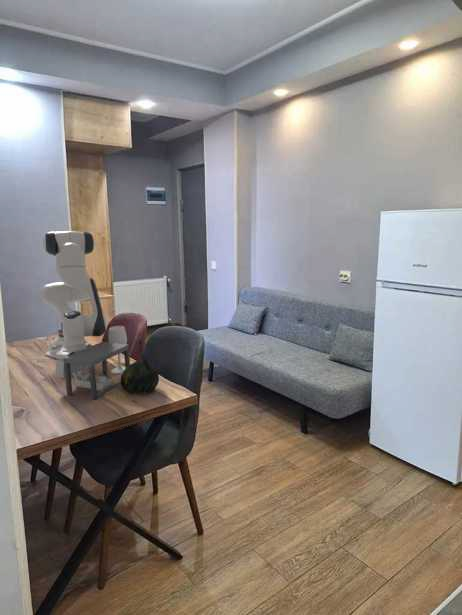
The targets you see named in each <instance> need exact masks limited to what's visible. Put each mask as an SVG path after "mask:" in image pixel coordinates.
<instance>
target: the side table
mask: <svg viewBox="0 0 462 615" xmlns="http://www.w3.org/2000/svg"><path fill="white" fill-rule="evenodd" d="M119 353H120V354H122V353H124V354H123V355H124V356H123V357H124V367H125V369H126V368H127V367H128V366H129V365H130V364H131V360H130V359H131V358H130V345H129V344H119V343H110V342H109V341H101V342H99V343H95V344H93V345H92V346H91V347H88V348H86V349H84V350H81V351H79V352H76V353H74V354H72V355H69V356H67V357H64V358H63V361H64V370H65V378H64V379H65V387H66V396H68V397H71V396H73V385H72V376H71V375H72V374H71V373H70V364H76V365H83V366H88V371H89V373H88V374H89V376H90V384H91V389H90V394H91V395H90V396H91V400H92V401H97V400H98V399H100V398H101V397H103V396H105V395H106V394H108V393H109V392H111V391H113V390H115V389H116V388H118V387H119V386H121V379H120V380H119V381H117V382H115V383H112V385H111V386H110V387H108V388H106V389H104V390H103V391H99V392H98V390H97V387H96V377H97V376H96V367H95V366H97V365H98V364H101V367H102V376H106V378H107V377H108V376H109V371H108V360H109V359H111V358H113V357H115V356H118V354H119Z"/></svg>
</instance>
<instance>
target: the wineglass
mask: <svg viewBox="0 0 462 615" xmlns="http://www.w3.org/2000/svg"><path fill="white" fill-rule="evenodd" d="M126 332H127V331H126V328H125V327H124V326H123V325H114V326H111V327H110V328H109V330H108V342H110V343H119V344H127V343H128V337H127V333H126ZM117 358H118V360H117V362H118V366H117V367H115V368H113V369H111V370H110V373H111V374H113V375H122V373H123V371H124V370H125V366H122V360H121V353H119V354H117Z"/></svg>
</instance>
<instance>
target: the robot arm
mask: <svg viewBox="0 0 462 615" xmlns="http://www.w3.org/2000/svg"><path fill="white" fill-rule="evenodd" d="M42 242H43V243H42V244H43V245H42V246H43V248H44V249H45V251H46V253H48V255H53V256H54V257H55V269H56V270H55V272H56V273H57V275H58V276H59V277H60V280H61V281H59V282H58V281H57V282H52V283H47V284H44V285H43V286H42V288H41V291H40V296H41V299H42V301H43V302H44V303H45V304H47V305H49V306H51V308H53V310H55V312H56V313H57V316H58V319H59V326H60V329H58V330H57V331H56V334H57V335H58V336H57V337H56V338H54V340H52V341H51V342H50V344H49V350H48V351H46V352H45V356H47V357H51V358H54V359H56V361H55V373H56V376H57V377H58V378H62V379H65V370H64V361H63V358H64V357H67V356H69V355H72V354H74V353H76V352H79V351H81V350H84V349H86V348H88V347H91V346H93V345H92V344H90V343H88V344H87V340H86V338H87V337H101V336H103V335H104V334H106V332H107V328H108V323H107V320H106V317H105V315H104V312H103V311H104V310H103V308H102V302H101V299H100V295H99V292H98V288H97V285H96V283H95V280H94V279H93V278H92V277H90V276H89V275H88V271H87V267H86V266H87V265H86V259H85V255H90V254H91V253H92V252H93V251H94V249H95V244H96V242H95V239H94V237H93V234H92V233H91V232H88V231H77V230H64V231H63V230H62V231H48V232H46V233H45V235H44V238H43V241H42ZM88 300H90V305H91V308H92V314H91V313H90V314H82V312H81V311H80V310H77V309H75V308H73V307H70V306H69V304H70V303H79V302H84V301H88ZM85 337H86V338H85ZM86 368H89V366H83V365H76V364H70V373H71V375H72V376H73V377H74V381H75V380H76V379H78V378H80V377H81V375H80V374H82V373H85V372H84V371H85V370H84V369H86Z"/></svg>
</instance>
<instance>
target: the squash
mask: <svg viewBox="0 0 462 615" xmlns="http://www.w3.org/2000/svg"><path fill="white" fill-rule="evenodd" d="M157 370H158V369H157V368H156V366H154V364H153V363H152V362H150V361H149V360H148V359H147V358H141V359H138V360H136V361H134V362H132V363H130V365H129V366H128V367H127V368H126V369H125V370H124V371H123V373H122V374H121V377H120V380H121V385H120V386H121V388H122V390H123V391H124V392H127V393H128V394H129V395H135V394H137V395H139V394H150V393H153V392H154V390H156V388H157V386H158V384H159V383H160V382H159V381H160V376H159V372H158V371H157Z"/></svg>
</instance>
